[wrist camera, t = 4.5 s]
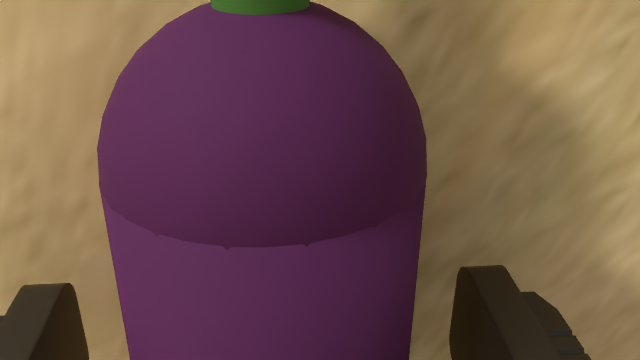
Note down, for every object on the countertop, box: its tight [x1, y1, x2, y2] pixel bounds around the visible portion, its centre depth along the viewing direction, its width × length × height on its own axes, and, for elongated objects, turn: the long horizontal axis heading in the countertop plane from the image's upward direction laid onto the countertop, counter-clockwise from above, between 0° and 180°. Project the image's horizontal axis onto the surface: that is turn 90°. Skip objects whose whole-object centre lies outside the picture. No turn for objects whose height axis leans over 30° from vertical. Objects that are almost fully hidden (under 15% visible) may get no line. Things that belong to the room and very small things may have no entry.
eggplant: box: [97, 0, 427, 360], centre depth 10 cm, size 4×13×4 cm, turn 0°
